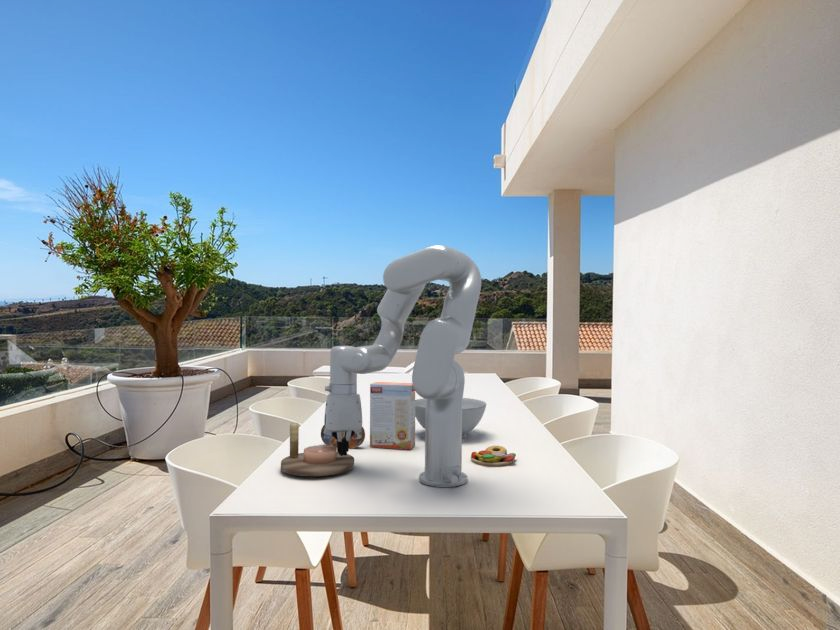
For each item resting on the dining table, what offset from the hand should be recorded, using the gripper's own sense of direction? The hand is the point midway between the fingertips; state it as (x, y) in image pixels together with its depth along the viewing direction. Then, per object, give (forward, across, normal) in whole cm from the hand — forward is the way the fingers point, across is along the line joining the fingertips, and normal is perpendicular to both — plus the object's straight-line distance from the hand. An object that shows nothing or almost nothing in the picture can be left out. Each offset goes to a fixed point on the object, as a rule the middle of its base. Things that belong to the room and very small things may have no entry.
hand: (342, 454), depth 151 cm
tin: (+4, +6, +23) cm, 24 cm away
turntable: (+3, -7, 0) cm, 8 cm away
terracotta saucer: (+1, -6, 0) cm, 6 cm away
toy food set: (+4, +43, -10) cm, 44 cm away
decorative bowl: (+4, +45, +25) cm, 52 cm away
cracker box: (+4, +21, +17) cm, 27 cm away
